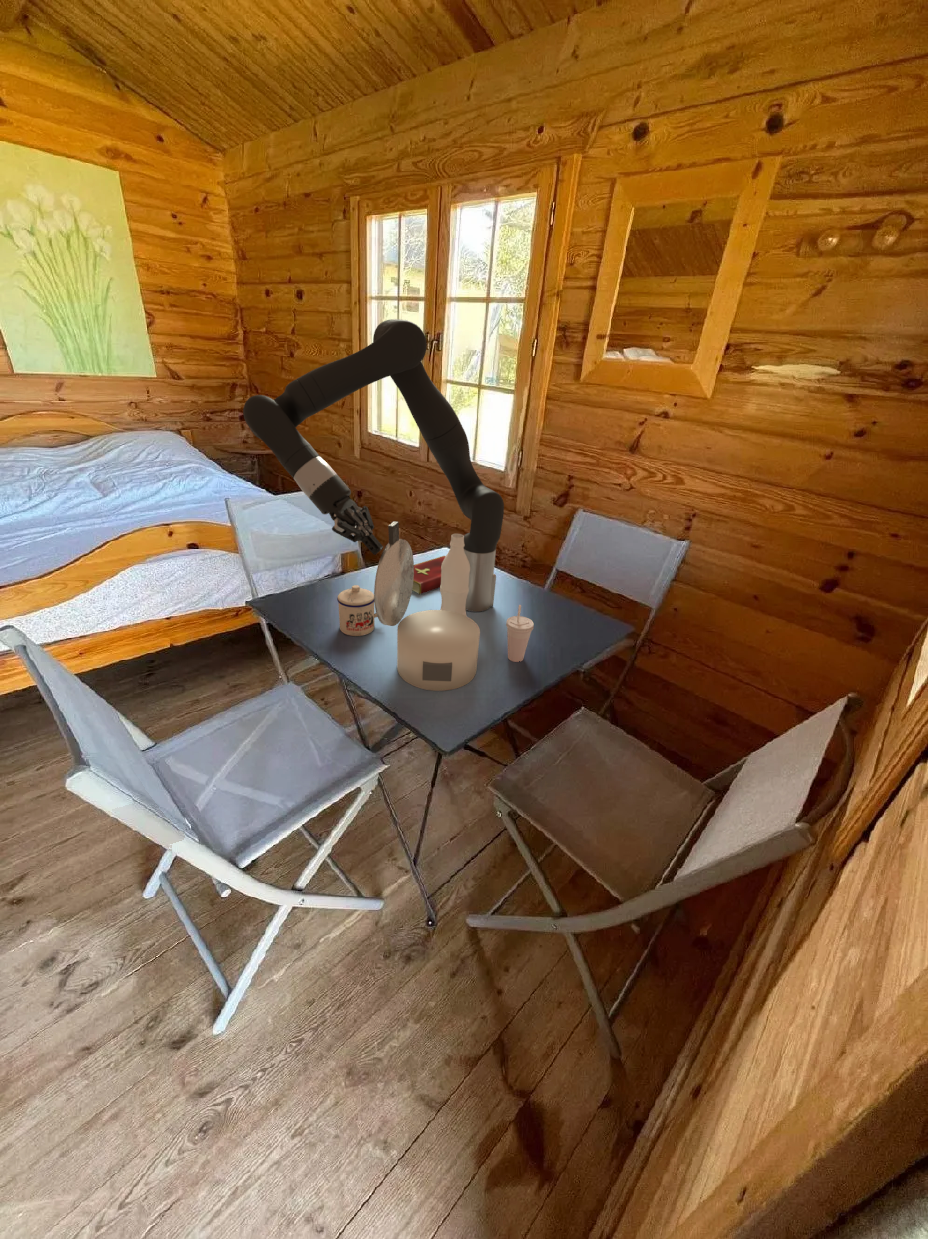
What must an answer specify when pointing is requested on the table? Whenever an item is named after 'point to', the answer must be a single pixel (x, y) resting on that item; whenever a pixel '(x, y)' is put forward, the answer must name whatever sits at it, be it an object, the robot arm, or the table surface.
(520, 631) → the smoothie
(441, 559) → the hardcover book
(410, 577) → the cooker lid
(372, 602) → the teacup with lid
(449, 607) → the water bottle
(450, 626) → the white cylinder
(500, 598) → the table surface
